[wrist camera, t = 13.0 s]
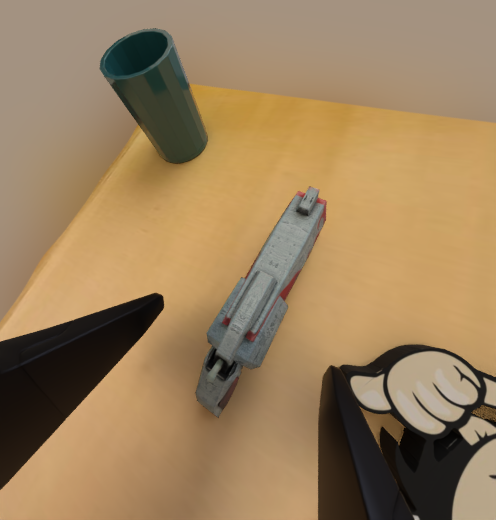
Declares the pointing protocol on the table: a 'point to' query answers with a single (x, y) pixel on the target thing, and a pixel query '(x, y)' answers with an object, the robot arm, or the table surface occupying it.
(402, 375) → the toy
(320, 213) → the toy gun
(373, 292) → the table surface
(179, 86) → the pen holder
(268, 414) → the table surface
